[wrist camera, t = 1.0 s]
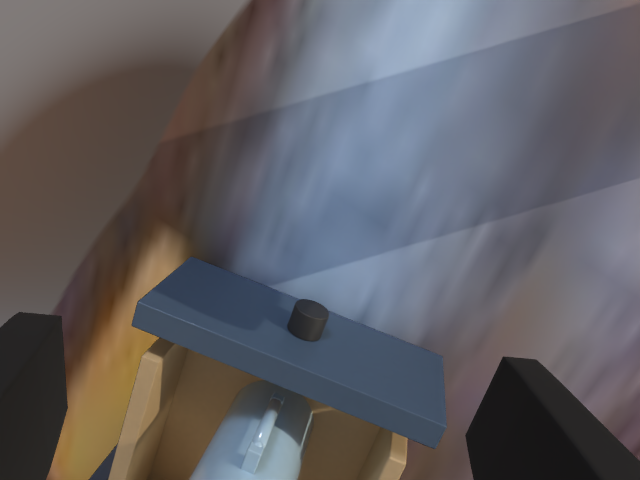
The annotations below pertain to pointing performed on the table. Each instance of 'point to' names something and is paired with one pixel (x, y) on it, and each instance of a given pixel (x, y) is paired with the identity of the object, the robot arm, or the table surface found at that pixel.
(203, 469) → the jug
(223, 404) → the drawer
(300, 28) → the table surface
